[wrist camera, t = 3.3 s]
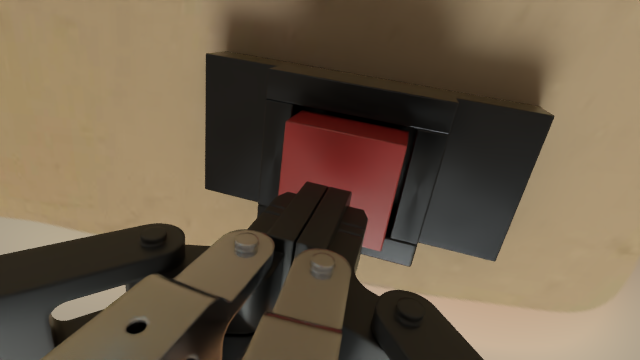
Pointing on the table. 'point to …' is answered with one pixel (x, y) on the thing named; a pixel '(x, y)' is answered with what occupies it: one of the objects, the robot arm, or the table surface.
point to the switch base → (390, 111)
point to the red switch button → (346, 163)
